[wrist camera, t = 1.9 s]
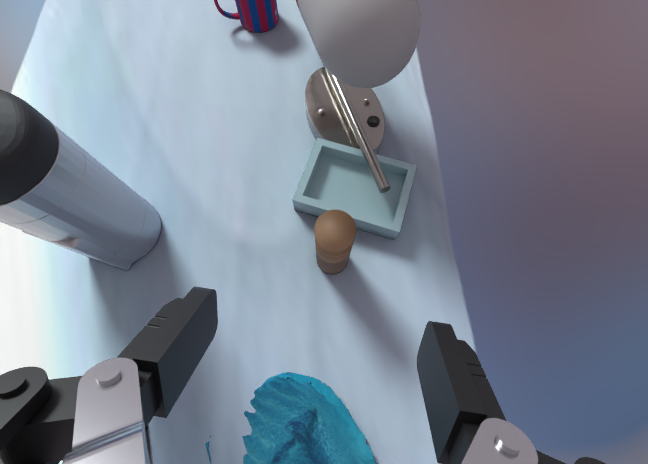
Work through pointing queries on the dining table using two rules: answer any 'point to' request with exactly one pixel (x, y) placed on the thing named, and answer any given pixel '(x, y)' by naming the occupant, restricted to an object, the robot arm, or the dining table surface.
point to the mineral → (302, 425)
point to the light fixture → (357, 68)
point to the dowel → (334, 240)
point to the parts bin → (354, 188)
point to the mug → (254, 14)
